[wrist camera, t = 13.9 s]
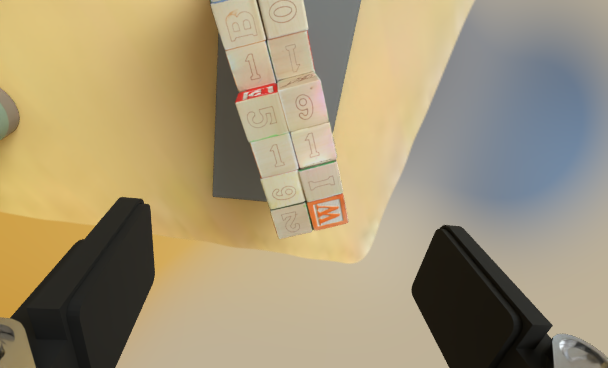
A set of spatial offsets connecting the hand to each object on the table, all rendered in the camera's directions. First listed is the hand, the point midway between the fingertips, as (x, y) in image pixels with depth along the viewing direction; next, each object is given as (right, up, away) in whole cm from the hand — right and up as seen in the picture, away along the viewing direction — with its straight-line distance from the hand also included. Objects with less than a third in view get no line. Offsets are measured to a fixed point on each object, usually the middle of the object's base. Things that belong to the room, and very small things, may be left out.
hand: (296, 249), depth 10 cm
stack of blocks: (-2, +13, +22) cm, 26 cm away
